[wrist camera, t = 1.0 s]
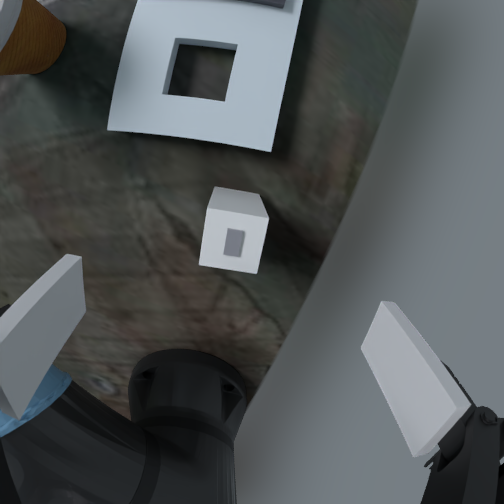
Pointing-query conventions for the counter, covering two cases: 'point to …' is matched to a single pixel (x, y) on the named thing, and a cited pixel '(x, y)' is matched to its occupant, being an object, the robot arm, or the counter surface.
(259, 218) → the block
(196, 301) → the counter surface
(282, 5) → the phone
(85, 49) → the counter surface
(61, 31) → the disposable coffee cup
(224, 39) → the outlet board
